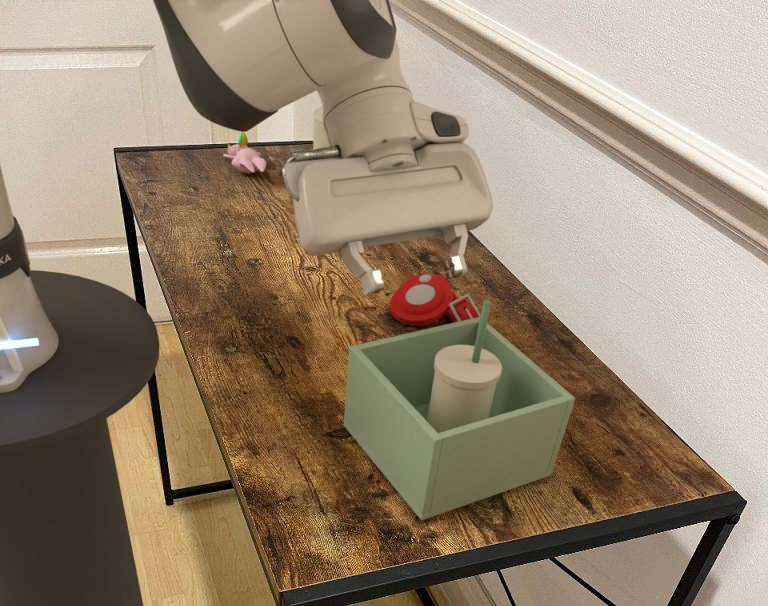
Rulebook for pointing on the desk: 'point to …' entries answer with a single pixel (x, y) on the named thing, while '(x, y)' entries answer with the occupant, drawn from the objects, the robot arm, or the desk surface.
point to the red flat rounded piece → (429, 302)
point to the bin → (459, 445)
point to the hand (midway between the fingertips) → (417, 284)
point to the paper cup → (464, 382)
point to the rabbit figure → (245, 156)
